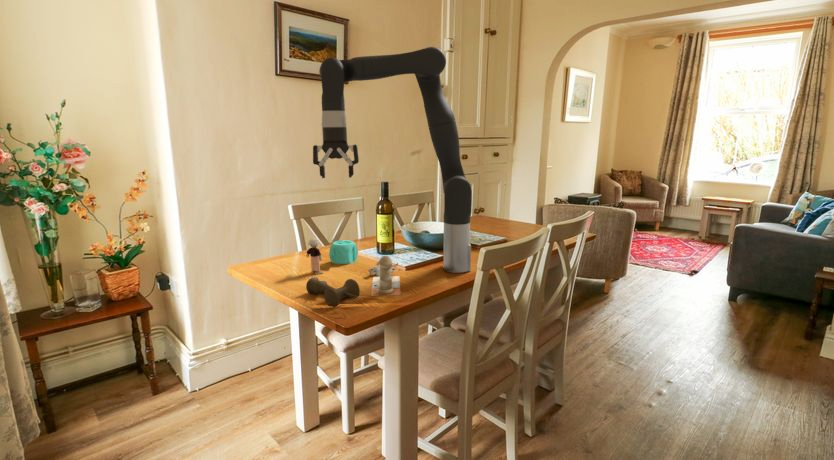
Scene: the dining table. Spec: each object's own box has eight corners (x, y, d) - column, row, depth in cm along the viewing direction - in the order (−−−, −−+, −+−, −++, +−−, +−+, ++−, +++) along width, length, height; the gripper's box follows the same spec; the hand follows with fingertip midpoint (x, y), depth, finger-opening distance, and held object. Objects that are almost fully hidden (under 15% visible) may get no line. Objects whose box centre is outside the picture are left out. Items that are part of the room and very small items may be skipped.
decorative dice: (348, 267, 164) (347, 245, 162) (329, 265, 166) (328, 244, 164) (358, 260, 171) (357, 240, 169) (340, 259, 174) (338, 239, 172)
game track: (401, 278, 150) (401, 275, 150) (402, 297, 133) (402, 294, 133) (371, 279, 150) (371, 276, 150) (369, 298, 132) (368, 295, 132)
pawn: (392, 289, 138) (392, 254, 135) (393, 294, 133) (393, 258, 131) (378, 289, 137) (378, 254, 135) (378, 294, 133) (378, 258, 130)
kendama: (324, 289, 143) (369, 301, 131) (300, 299, 135) (345, 312, 123) (322, 271, 141) (368, 282, 129) (297, 280, 134) (343, 292, 122)
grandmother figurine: (327, 272, 158) (325, 237, 155) (321, 275, 154) (319, 240, 151) (310, 269, 161) (308, 235, 158) (303, 272, 157) (301, 238, 155)
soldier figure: (404, 277, 155) (381, 275, 145) (395, 284, 157) (371, 283, 148) (396, 258, 158) (373, 255, 149) (387, 266, 160) (363, 263, 151)
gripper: (357, 125, 144) (359, 176, 148) (313, 126, 143) (316, 176, 147) (356, 125, 137) (358, 178, 140) (309, 126, 136) (312, 179, 140)
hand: (336, 177), depth 144 cm, fingers open, 8 cm apart
